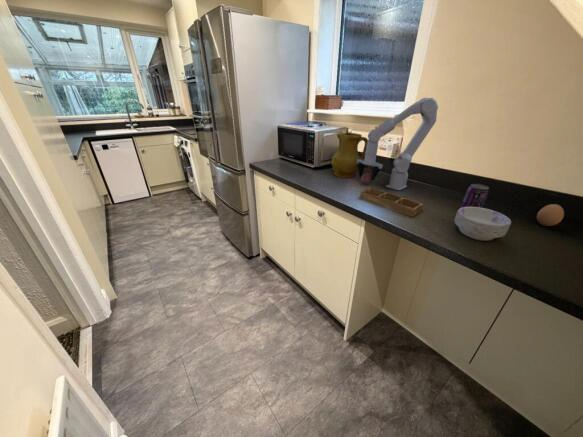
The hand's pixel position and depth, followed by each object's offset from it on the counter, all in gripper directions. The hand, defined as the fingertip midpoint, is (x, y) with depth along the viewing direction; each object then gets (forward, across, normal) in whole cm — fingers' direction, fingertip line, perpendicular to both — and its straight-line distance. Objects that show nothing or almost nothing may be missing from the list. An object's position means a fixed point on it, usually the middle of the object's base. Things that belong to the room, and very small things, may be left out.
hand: (366, 178), depth 129 cm
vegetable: (+4, 0, 0) cm, 4 cm away
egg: (+3, +72, +14) cm, 74 cm away
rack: (+3, +22, -15) cm, 27 cm away
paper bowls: (+4, +56, -15) cm, 58 cm away
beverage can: (+4, +49, +4) cm, 49 cm away
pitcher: (+4, -18, +5) cm, 19 cm away
